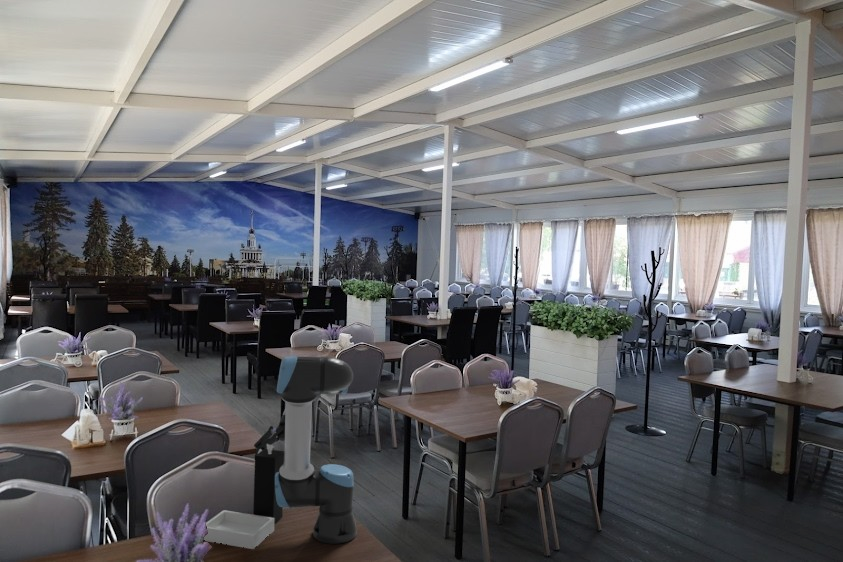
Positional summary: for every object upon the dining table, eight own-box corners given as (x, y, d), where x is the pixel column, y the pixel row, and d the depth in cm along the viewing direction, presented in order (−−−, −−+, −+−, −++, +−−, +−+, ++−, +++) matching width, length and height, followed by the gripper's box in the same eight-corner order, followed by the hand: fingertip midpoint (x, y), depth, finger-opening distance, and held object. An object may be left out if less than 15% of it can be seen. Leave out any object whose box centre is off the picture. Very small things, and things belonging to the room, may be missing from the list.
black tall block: (273, 526, 211) (275, 448, 210) (252, 523, 212) (254, 446, 211) (282, 517, 218) (284, 442, 217) (262, 514, 220) (264, 440, 219)
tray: (274, 530, 208) (274, 518, 208) (253, 549, 194) (253, 535, 194) (223, 522, 212) (223, 510, 212) (199, 540, 199) (200, 526, 199)
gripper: (323, 426, 231) (305, 477, 217) (266, 419, 237) (245, 469, 223) (318, 416, 226) (299, 468, 212) (259, 410, 232) (237, 460, 218)
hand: (271, 469), depth 218 cm, fingers open, 13 cm apart
